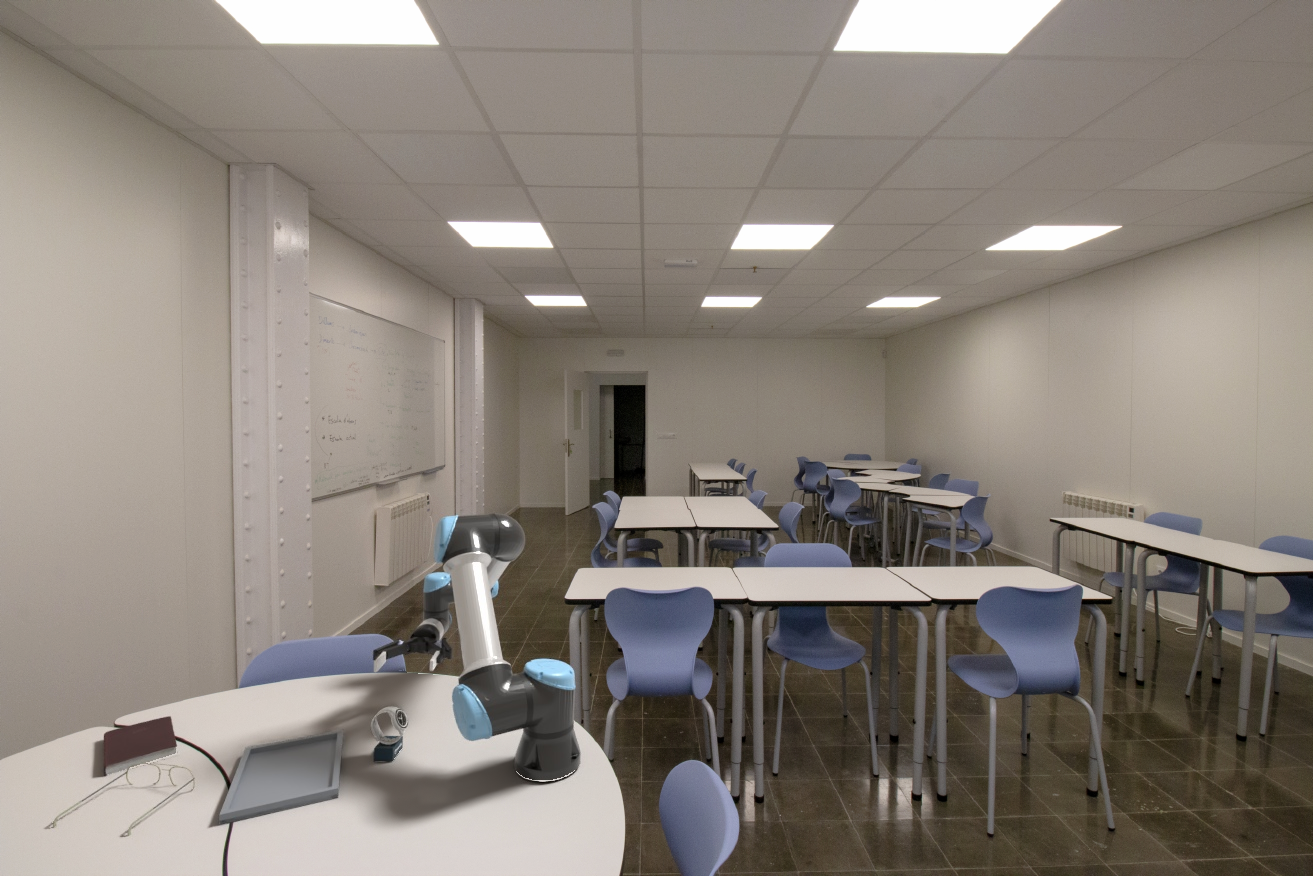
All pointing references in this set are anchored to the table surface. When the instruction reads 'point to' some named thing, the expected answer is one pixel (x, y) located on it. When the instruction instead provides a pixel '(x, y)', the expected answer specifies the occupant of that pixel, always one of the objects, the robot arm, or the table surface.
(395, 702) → the table surface
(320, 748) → the tray
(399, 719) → the watch
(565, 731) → the robot arm
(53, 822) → the eyeglasses
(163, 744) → the book
